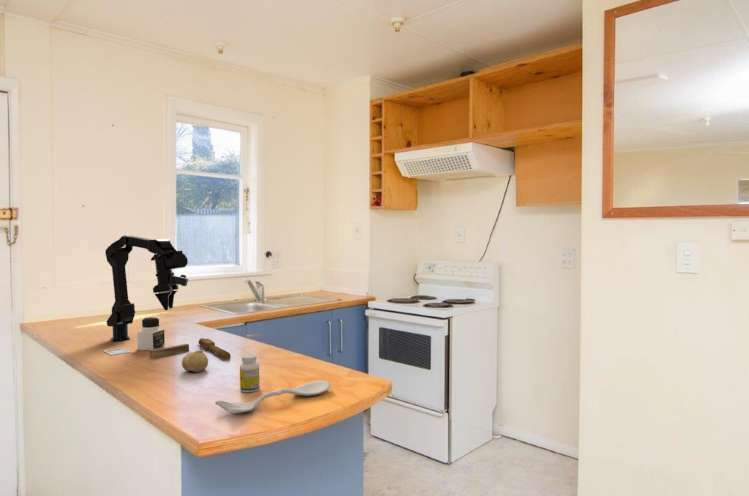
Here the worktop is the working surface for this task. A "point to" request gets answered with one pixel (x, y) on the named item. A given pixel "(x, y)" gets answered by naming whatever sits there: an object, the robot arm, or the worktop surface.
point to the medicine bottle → (150, 335)
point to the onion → (195, 361)
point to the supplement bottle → (249, 374)
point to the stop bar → (169, 350)
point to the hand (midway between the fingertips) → (168, 309)
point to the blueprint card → (116, 351)
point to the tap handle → (214, 348)
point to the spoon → (304, 390)
